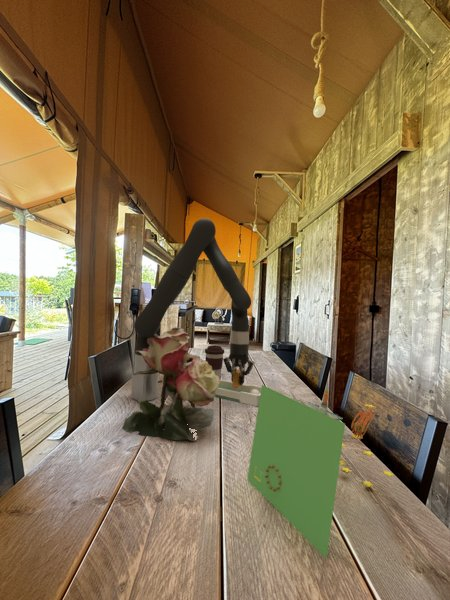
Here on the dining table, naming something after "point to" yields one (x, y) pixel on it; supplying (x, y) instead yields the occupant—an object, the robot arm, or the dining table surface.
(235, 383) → the orange upright block
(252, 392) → the ball
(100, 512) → the dining table surface
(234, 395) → the cream tray
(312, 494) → the green panel with ring
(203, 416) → the rose bouquet
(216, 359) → the coffee cup
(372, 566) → the dining table surface
